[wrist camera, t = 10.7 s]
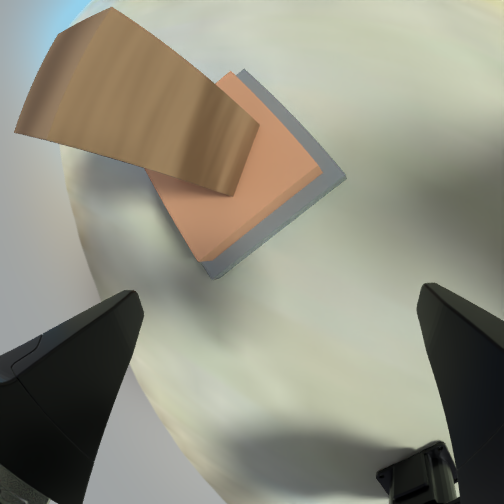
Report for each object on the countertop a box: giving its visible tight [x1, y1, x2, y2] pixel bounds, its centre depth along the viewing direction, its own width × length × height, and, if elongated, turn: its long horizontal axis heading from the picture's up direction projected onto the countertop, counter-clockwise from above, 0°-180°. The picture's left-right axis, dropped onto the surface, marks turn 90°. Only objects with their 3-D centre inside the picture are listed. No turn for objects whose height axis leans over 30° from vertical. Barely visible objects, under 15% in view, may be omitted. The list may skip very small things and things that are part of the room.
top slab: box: [144, 71, 323, 262], centre depth 20 cm, size 10×10×2 cm
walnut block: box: [14, 7, 260, 197], centre depth 13 cm, size 5×5×12 cm
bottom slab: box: [201, 69, 347, 280], centre depth 22 cm, size 12×12×2 cm
